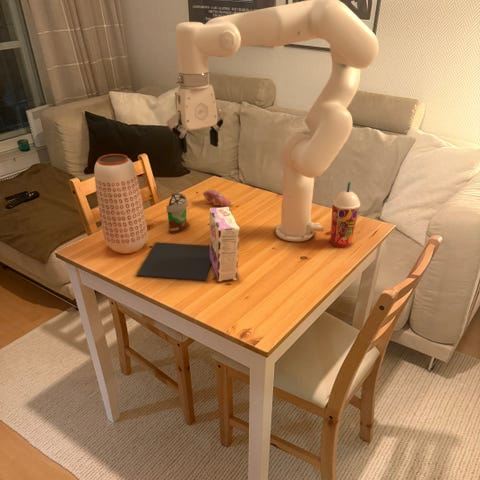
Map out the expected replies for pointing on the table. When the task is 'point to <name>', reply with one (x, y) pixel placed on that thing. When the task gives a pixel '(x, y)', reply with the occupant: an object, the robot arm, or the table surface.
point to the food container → (177, 212)
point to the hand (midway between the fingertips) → (199, 148)
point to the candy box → (224, 243)
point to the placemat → (177, 262)
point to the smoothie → (344, 217)
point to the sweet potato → (216, 198)
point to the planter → (120, 204)
